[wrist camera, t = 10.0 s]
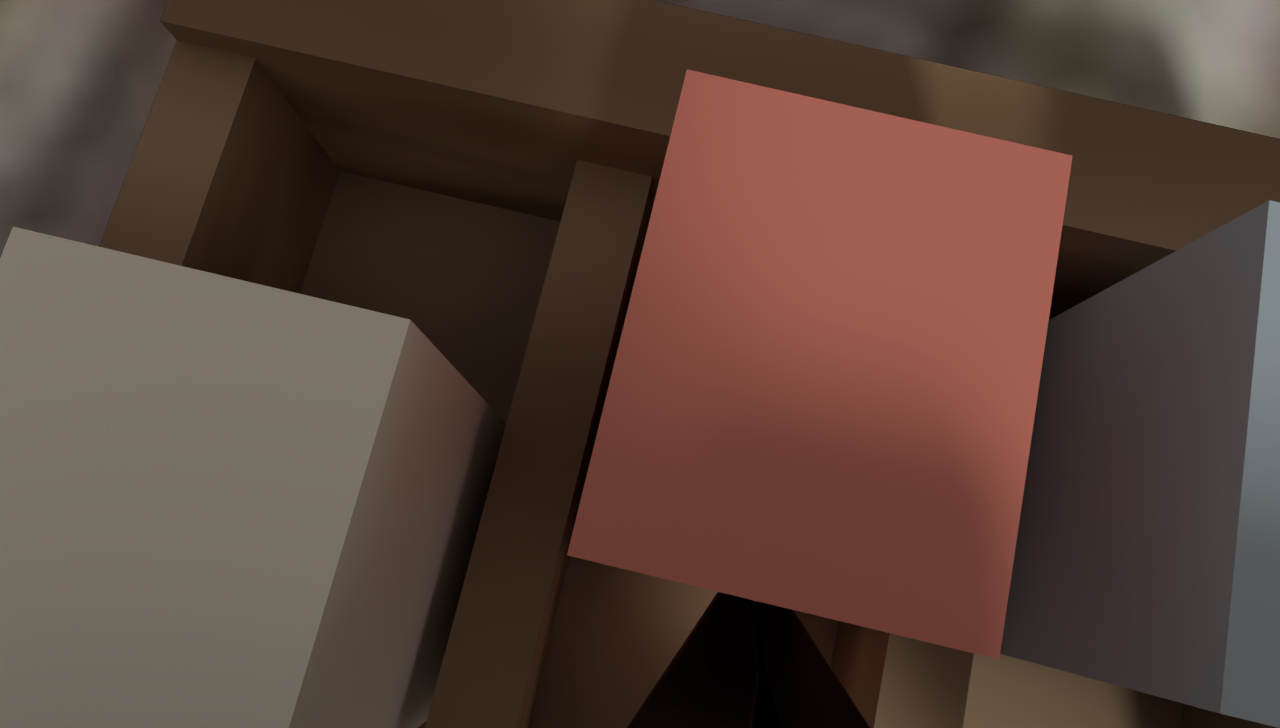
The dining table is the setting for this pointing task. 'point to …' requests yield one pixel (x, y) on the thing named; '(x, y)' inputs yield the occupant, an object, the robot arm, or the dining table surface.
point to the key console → (598, 280)
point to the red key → (830, 364)
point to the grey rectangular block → (1161, 482)
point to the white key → (223, 499)
